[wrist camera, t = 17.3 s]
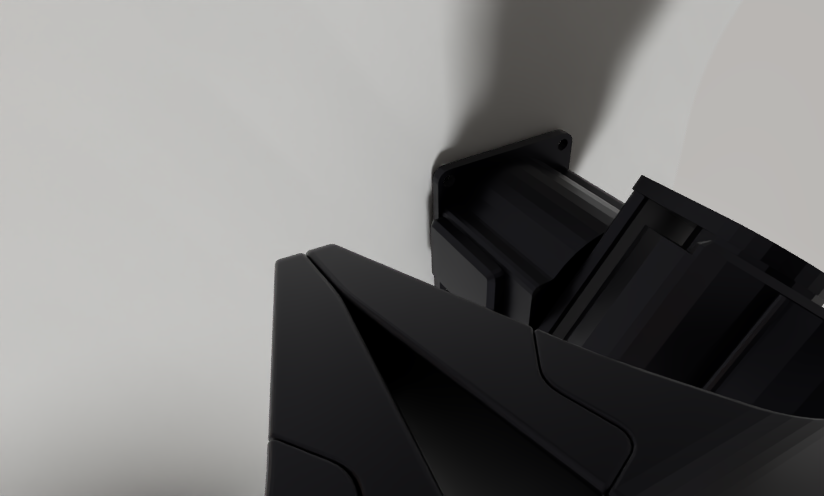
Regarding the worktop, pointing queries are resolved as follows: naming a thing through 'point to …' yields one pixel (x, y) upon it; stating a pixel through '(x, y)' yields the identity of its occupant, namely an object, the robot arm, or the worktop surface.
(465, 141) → the worktop surface
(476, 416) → the robot arm
